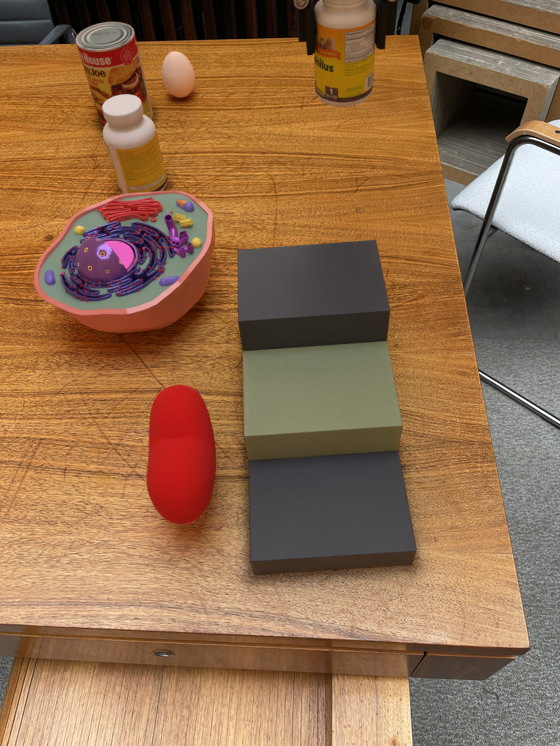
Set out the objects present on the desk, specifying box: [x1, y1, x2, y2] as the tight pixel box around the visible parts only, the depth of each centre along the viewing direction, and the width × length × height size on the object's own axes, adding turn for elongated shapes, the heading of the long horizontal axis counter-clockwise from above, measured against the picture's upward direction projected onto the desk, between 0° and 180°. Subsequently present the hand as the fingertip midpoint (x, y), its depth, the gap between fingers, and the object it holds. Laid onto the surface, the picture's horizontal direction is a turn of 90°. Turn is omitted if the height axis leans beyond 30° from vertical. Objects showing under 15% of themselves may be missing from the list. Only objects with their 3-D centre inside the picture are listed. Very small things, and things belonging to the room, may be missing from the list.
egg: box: [161, 50, 196, 99], centre depth 95 cm, size 5×5×7 cm
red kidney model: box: [146, 384, 217, 526], centre depth 53 cm, size 12×5×10 cm, turn 4°
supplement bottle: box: [313, 0, 377, 108], centre depth 58 cm, size 6×6×10 cm
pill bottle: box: [102, 94, 168, 194], centre depth 80 cm, size 6×6×12 cm
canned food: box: [75, 21, 154, 129], centre depth 90 cm, size 8×8×12 cm
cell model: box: [33, 190, 216, 334], centre depth 67 cm, size 17×20×11 cm
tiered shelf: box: [236, 239, 417, 576], centre depth 56 cm, size 13×27×11 cm, turn 3°
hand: (344, 43), depth 58 cm, fingers closed on supplement bottle, 5 cm apart
